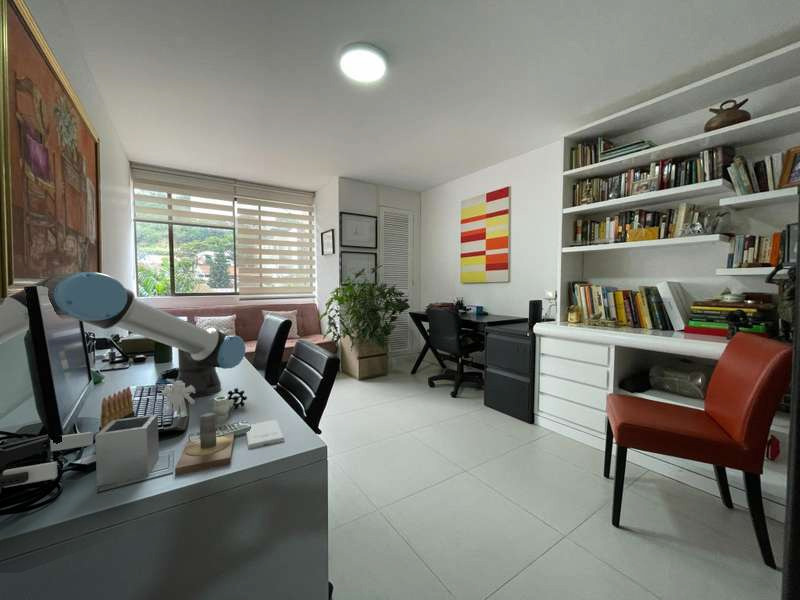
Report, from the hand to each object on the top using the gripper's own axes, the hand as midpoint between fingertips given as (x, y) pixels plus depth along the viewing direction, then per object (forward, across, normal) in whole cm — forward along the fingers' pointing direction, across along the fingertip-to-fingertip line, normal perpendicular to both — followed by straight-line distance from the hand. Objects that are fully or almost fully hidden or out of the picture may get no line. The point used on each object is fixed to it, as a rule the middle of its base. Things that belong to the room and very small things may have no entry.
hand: (76, 452), depth 64 cm
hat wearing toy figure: (+11, -31, -6) cm, 34 cm away
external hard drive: (+34, -7, -7) cm, 36 cm away
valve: (+24, -26, -6) cm, 37 cm away
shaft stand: (+22, -2, -6) cm, 23 cm away
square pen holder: (+8, 0, -6) cm, 10 cm away
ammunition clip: (0, -21, -6) cm, 22 cm away
